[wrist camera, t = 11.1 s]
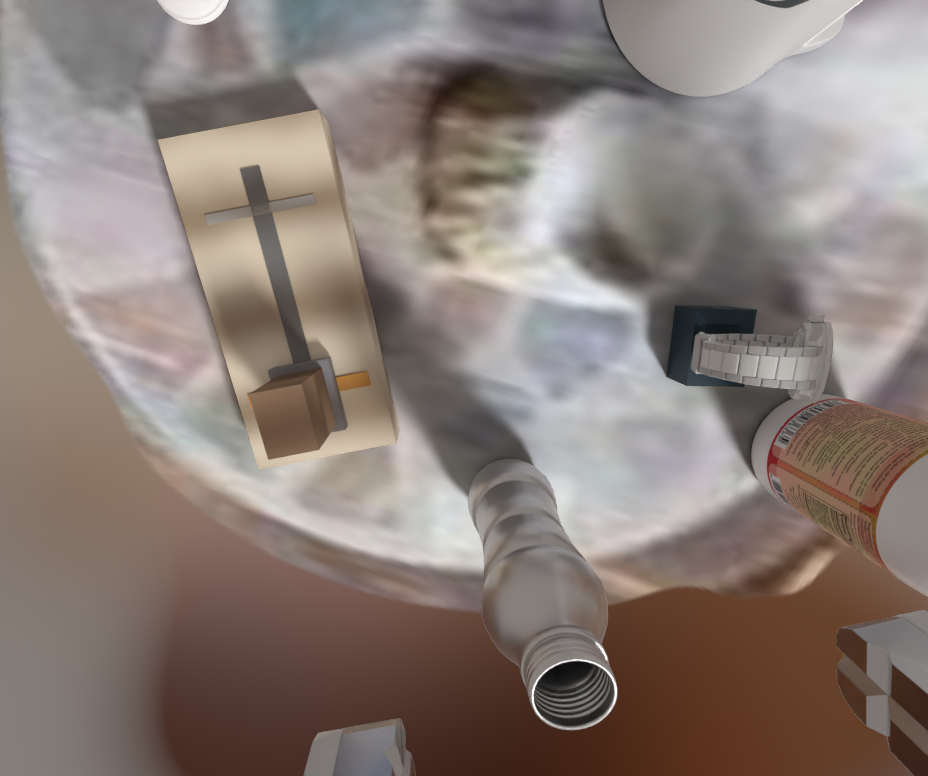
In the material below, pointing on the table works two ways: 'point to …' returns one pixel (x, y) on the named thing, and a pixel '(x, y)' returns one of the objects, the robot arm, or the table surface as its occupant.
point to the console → (282, 267)
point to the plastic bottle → (541, 596)
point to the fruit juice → (852, 477)
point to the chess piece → (194, 10)
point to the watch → (748, 352)
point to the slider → (298, 408)
